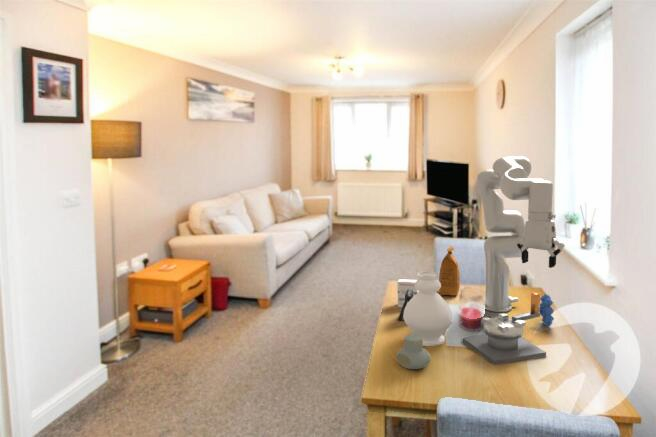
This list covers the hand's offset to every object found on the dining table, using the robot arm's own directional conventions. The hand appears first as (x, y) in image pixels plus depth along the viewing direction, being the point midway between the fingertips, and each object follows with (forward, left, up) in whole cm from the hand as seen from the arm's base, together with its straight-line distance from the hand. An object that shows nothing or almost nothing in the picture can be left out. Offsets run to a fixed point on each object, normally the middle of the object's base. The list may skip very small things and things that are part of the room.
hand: (538, 264), depth 174 cm
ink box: (+27, -52, -29) cm, 65 cm away
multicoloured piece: (+9, 0, -23) cm, 25 cm away
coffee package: (+1, -62, -29) cm, 68 cm away
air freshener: (+49, +2, -29) cm, 57 cm away
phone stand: (+33, -37, -29) cm, 57 cm away
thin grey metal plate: (+14, 0, -29) cm, 32 cm away
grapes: (-14, -14, -29) cm, 35 cm away
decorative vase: (+35, -16, -29) cm, 48 cm away
